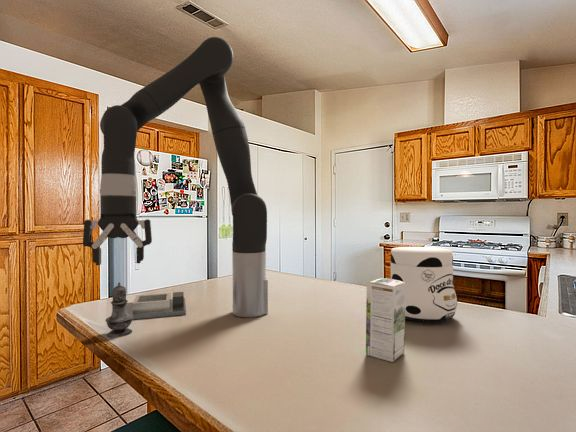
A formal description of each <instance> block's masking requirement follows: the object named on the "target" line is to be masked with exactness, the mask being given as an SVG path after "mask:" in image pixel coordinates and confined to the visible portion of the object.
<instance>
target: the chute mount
mask: <svg viewBox="0 0 576 432" xmlns="http://www.w3.org/2000/svg"><path fill="white" fill-rule="evenodd" d="M184 296H185V293H184V291H175V292H173V293H172V295H171V293H170V292H169V293H168V292H166V293H164V292H163V293H153V294H141V295H139V294H138V295H136V296H135V298H134V300H133V302H132V301H131V302H127V303H126V306H127V313H128V314H130V315H133V318H132V321H134V320H133V319H135V320H143V319H154V318H155V319H156V318H165V317H166V318H167V317H176V316H186V315H187V309H186V298H185V297H184ZM171 297H172V298H171Z"/></svg>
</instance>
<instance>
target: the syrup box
mask: <svg viewBox="0 0 576 432" xmlns="http://www.w3.org/2000/svg"><path fill="white" fill-rule="evenodd" d="M365 302H366V305H365V308H366V309H365V310H366V311H365V312H366V313H365V314H366V315H365V316H366V317H365V355H366V356H369V357H372V358H376V359H380V360H383V361H387V362H390V363H394V362H395V361H396V360H398V359H399V358H400V357H401V356H403V354H405V348H406V347H405V340H406V337H405V334H406V333H405V331H406V330H405V329H406V319H405V282H402V281H399V280H394V279H391V278H386V277H385V278H384V277H381V278H377V279H374V280H371V281H368V282H366V301H365Z"/></svg>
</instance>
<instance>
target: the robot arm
mask: <svg viewBox="0 0 576 432" xmlns="http://www.w3.org/2000/svg"><path fill="white" fill-rule="evenodd" d="M233 62H234V51H233V48H232V46H231V45H230V44H229V43H228V41H227V40H225V39H224V38H221V37H218V36H213V37H212V36H211V37H208V38H206V39H205V40H203V41H202V43H201V44H199V46H198V47H197V48H196V49H195V50H194V51H193V52H192V53H190V55H189V56H188V57H186V58H185V59H184V60H183V61H181V62H180V63H179V64H177V65H176V66H175V67H172V69H170V70H169V71H167V72H165V73H164V74H163V75H160V76H159V77H157V78H156V79H155V80H153V81H151V82H150V83H149V84H147V85H145V86H144V87H142V88H141V89H139V90H138V91H136V92H135V93H134V94H133V95H132V96H131V97H129V99H128V100H127V101H126V102H124V103H122V104H120V105H119V104H117V105H113V106H110V107H108V108H107V109H106V110H105V111H104V113H103V114H102V117H101V118H100V122H99V128H100V131H101V133H102V135H103V150H102V152H101V153H102V154H101V163H100V164H101V168H100V169H101V177H100V185H99V186H100V187H99V194H100V195H99V197H100V198H99V203H100V207H99V208H100V209H99V213H100V216H99V219H98V220H92V219H86V220H84V222H83V234H82V235H83V236H82V246H83V247H88V248H90V249H92V262H93V264H95V266H101V264H102V248H101V246H102V245H103V243H104V242H105V241H106V240H107V239H108V238H109V239H117V238H120V239H126V238H128V237H129V239H130V240H131V241H133V242H134V244H135V245H136V246H137V247H136V264H141V263H142V262H143V261H144V259H145V257H144V255H145V251H144V250H145V246H150V245H151V244H152V242H153V238H152V237H153V236H152V224H151V220H150V219H141V220H140V219H138V217H137V183H136V159H135V153H136V152H135V150H136V146H137V145H136V144H137V136H138V131H139V130H140V129H142V127H145V125H147V124H148V123H150V122H151V121H153V120H154V119H156V118H158V117H159V116H161V115H162V114H163V113H165V112H166V111H168V110H169V109H170V108H172V107H173V106H174V105H176V104H177V103H178V102H179V101H180V100H181V99H182V98H184V97H185V96H186V95H187V94H188V93H189V92H190V91H191V90H192V89H193V88H195V87H196V86H197V85H199V87H200V89H201V92H202V96H203V99H204V103H205V107H206V110H207V111H206V112H207V115H208V120H209V123H210V124H209V125H210V128H211V134H212V137H213V142H214V145H215V150H216V153H217V157H218V159H219V162H220V166H221V168H222V171H223V173H224V176H225V178H226V183H227V189H228V192H229V199H230V206H231V207H230V209H231V211H230V212H231V215H232V243H231V244H232V246H231V248H232V250H231V251H232V252H231V253H232V255H231V256H232V257H231V258H232V264H231V265H232V314H233V316H235V317H239V318H255V317H260V316H264V315H268V314H269V295H268V294H269V289H268V287H269V281H268V279H267V274H266V271H267V270H266V263H267V262H266V259H267V258H266V256H267V255H266V246H267V240H268V239H267V237H268V210H267V204H266V203H265V202H266V201H264V199H263V198H262V197H260V196H259V195H258V192H257V190H256V187H255V186H256V185H255V184H254V179H253V175H252V161H251V150H250V145H249V143H250V142H249V139H248V133H247V129H246V126H245V122H244V121H243V118H242V116H241V115H240V112H238V110H237V109H236V107H235V105H233V102H232V101H231V99H230V96H229V93H228V87H227V82H226V74H227V73H228V71H229V70H230V68H231V67H232V66H233ZM97 226H98V227H99V229H100V230H102V231H101V233H100V234H99V236H98V237H97V239H96V240H95V241H93V240H92V239H93V230H95V229H96V227H97ZM138 226H140V228H141V229H143V230H144V237H145V239H144V240H142V239H141V238H140V236H139V235H138V234H137V232H136V231H135V230H136V229H137V227H138Z"/></svg>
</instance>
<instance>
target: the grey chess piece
mask: <svg viewBox="0 0 576 432" xmlns="http://www.w3.org/2000/svg"><path fill="white" fill-rule="evenodd" d="M126 303H129V301H128V300H127V289H126V287H125V286H123V285H121V281H120V282H118V283H117V285H116V286H114V287H113V288H112V301H111V302H110V304H111V307H112V308H111V309H112V311H111V315H110V316H109V317H107V318H106V319H105V322H106V325H107V327H108V329H110V331H108V332H107V334H106V336H107V337H108V338H122V337H125V336H128V335H131V334H132V333H133V329H131V328H129V327H130V326H131V324H132V321H133V320H132V318H133V315H130V314H128V313H127V306H126Z"/></svg>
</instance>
